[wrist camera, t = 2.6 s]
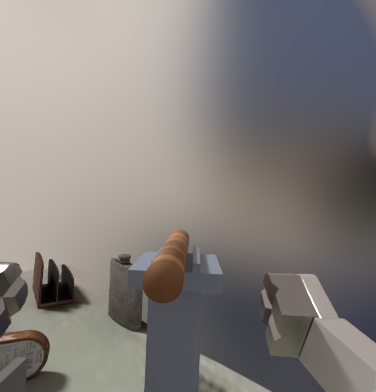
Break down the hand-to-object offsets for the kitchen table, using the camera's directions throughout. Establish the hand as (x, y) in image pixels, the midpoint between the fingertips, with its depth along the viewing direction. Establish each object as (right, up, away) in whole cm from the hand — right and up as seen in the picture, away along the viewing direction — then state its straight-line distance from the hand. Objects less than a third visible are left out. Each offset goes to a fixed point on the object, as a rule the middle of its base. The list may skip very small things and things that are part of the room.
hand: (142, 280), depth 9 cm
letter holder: (-44, -31, +80) cm, 96 cm away
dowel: (0, -4, +21) cm, 22 cm away
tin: (-32, -30, +38) cm, 58 cm away
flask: (-16, -31, +63) cm, 72 cm away
